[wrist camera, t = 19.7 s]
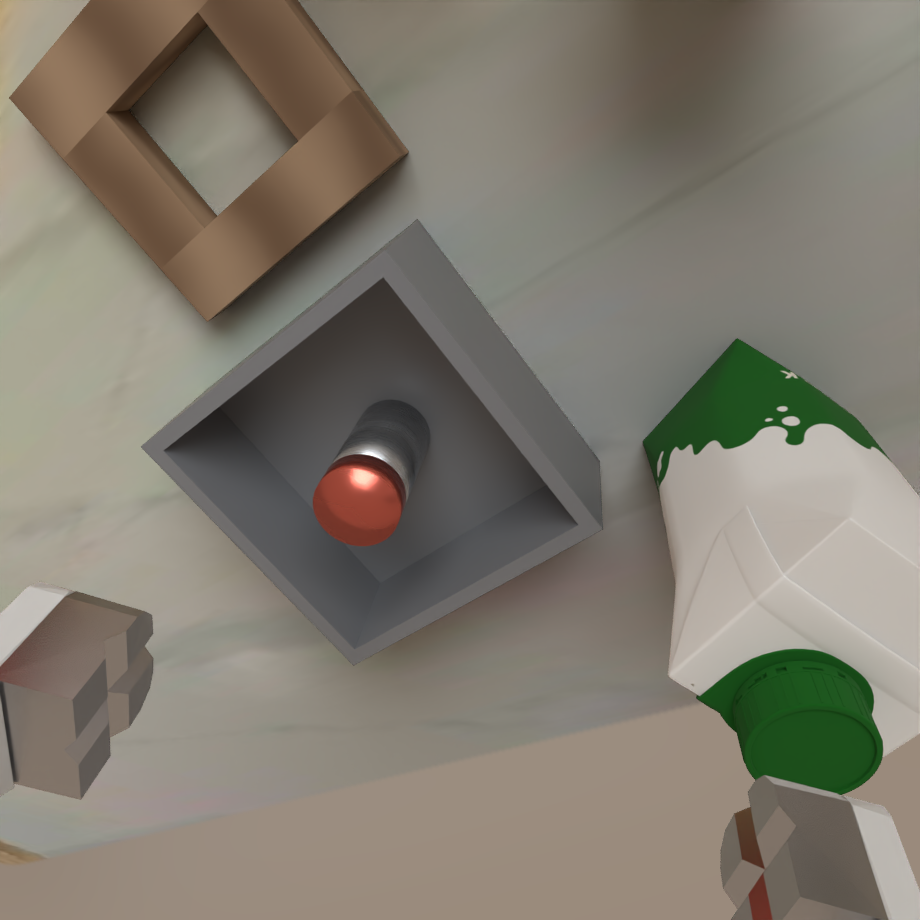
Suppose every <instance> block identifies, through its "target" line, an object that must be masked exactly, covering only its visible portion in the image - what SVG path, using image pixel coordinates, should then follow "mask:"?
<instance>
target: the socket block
mask: <svg viewBox="0 0 920 920" xmlns="http://www.w3.org/2000/svg"><path fill="white" fill-rule="evenodd" d="M207 25H208V26H209V27H210V28H211V30H212V31H213V32H214V34H215V35H216V36H217V37H218V39H219V40H220V41H221V43H222V44H223V45H224V46H225V48H226V49H227V50H228V52H229V53H230V54H231V55H232V57H233V58H234V59H235V61H236V62H237V63H238V64H239V66H240V67H241V68H242V70H243V71H244V72H245V73H246V75H247V76H248V77H249V79H250V80H251V81H252V82H253V84H254V85H255V86H256V88H257V89H258V90H259V91H260V93H261V94H262V95H263V97H264V98H265V99H266V100H267V102H268V103H269V104H270V106H271V107H272V108H273V109H274V111H275V112H276V113H277V115H278V116H279V117H280V118H281V120H282V121H283V122H284V124H285V125H286V126H287V127H288V129H289V130H290V131H291V133H292V134H293V135H294V136H295V138H296V139H297V140H298V142H297V143H296V144H295V145H294V146H293V147H291V148H290V149H289V150H288V151H287V152H286V153H285V154H284V155H283V156H282V157H281V158H280V159H279V160H277V161H276V162H275V163H274V164H273V165H272V166H271V167H270V168H269V169H268V170H267V171H266V172H265V173H263V174H262V175H261V176H260V177H259V178H258V179H257V180H256V181H255V182H254V183H253V184H252V185H251V186H249V187H248V188H247V189H246V190H245V191H244V192H243V193H242V194H241V195H240V196H239V197H238V198H237V199H235V200H234V201H233V202H232V203H231V204H230V205H229V206H228V207H227V208H226V209H225V210H224V211H223V212H221V213H220V214H219V215H218V216H217V215H216V214H215V213H214V212H213V210H212V209H211V208H210V207H209V206H208V204H207V203H206V202H205V201H204V200H203V198H202V197H201V196H200V195H199V194H198V193H197V191H196V190H195V189H194V188H193V187H192V185H191V184H190V183H189V182H188V181H187V179H186V178H185V177H184V176H183V175H182V173H181V172H180V171H179V170H178V169H177V168H176V166H175V165H174V164H173V163H172V162H171V160H170V159H169V158H168V157H167V156H166V154H165V153H164V152H163V151H162V150H161V148H160V147H159V146H158V145H157V144H156V143H155V141H154V140H153V139H152V138H151V137H150V135H149V134H148V133H147V132H146V131H145V129H144V128H143V127H142V126H141V125H140V123H139V122H138V121H137V120H136V119H135V117H134V116H133V115H132V114H131V113H130V112H129V109H130V108H131V107H132V106H133V105H134V104H135V102H136V101H137V100H138V99H139V98H140V97H141V96H142V95H143V94H144V93H145V92H146V91H147V90H148V88H149V87H150V86H151V85H152V84H153V83H154V82H155V81H156V80H157V79H158V78H159V77H160V76H161V74H162V73H163V72H164V71H165V70H166V69H167V68H168V67H169V66H170V65H171V64H172V63H173V62H174V60H175V59H176V58H177V57H178V56H179V55H180V54H181V53H182V52H183V51H184V50H185V49H186V48H187V46H188V45H189V44H190V43H191V42H192V41H193V40H194V39H195V38H196V37H197V36H198V35H199V34H200V32H201V31H202V30H203V29H204V28H205V27H206V26H207ZM9 99H10V100H11V101H12V102H13V103H14V104H15V105H16V106H17V108H18V109H19V110H20V111H21V112H22V113H23V114H24V116H25V117H26V118H27V119H28V120H29V121H30V122H31V123H32V125H33V126H34V127H35V128H36V129H37V130H38V131H39V132H40V134H41V135H42V136H43V137H44V138H45V139H46V140H47V141H48V143H49V144H50V145H51V146H52V147H53V148H54V149H55V151H56V152H57V153H58V154H59V155H60V156H61V157H62V158H63V160H64V161H65V162H66V163H67V164H68V165H69V166H70V167H71V169H72V170H73V171H74V172H75V173H76V174H77V175H78V176H79V178H80V179H81V180H82V181H83V182H84V183H85V184H86V186H87V187H88V188H89V189H90V190H91V191H92V192H93V193H94V195H95V196H96V197H97V198H98V199H99V200H100V201H101V202H102V204H103V205H104V206H105V207H106V208H107V209H108V210H109V211H110V213H111V214H112V215H113V216H114V217H115V218H116V219H117V221H118V222H119V223H120V224H121V225H122V226H123V227H124V228H125V230H126V231H127V232H128V233H129V234H130V235H131V236H132V237H133V239H134V240H135V241H136V242H137V243H138V244H139V245H140V247H141V248H142V249H143V250H144V251H145V252H146V253H147V254H148V256H149V257H150V258H151V259H152V260H153V261H154V262H155V263H156V265H157V266H158V267H159V268H160V269H161V270H162V271H163V272H164V274H165V275H166V276H167V277H168V278H169V279H170V280H171V282H172V283H173V284H174V285H175V286H176V287H177V288H178V289H179V291H180V292H181V293H182V294H183V295H184V296H185V297H186V298H187V300H188V301H189V302H190V303H191V304H192V305H193V306H194V307H195V309H196V310H197V311H198V312H199V313H200V314H201V315H202V317H203V318H204V319H205V320H206V321H207V322H208V321H209V320H211V319H212V318H214V317H215V316H217V315H218V314H220V313H221V312H222V311H224V310H225V309H226V308H227V307H228V306H230V305H231V304H232V303H233V302H234V301H235V300H237V299H238V298H239V297H240V296H241V295H242V294H244V293H245V292H246V291H247V290H248V289H249V288H251V287H252V286H253V285H254V284H255V283H256V282H258V281H259V280H260V279H261V278H262V277H263V276H265V275H266V274H267V273H268V272H269V271H271V270H272V269H273V268H274V267H275V266H276V265H278V264H279V263H280V262H281V261H282V260H283V259H285V258H286V257H287V256H288V255H289V254H290V253H292V252H293V251H294V250H295V249H296V248H297V247H299V246H300V245H301V244H302V243H303V242H304V241H306V240H307V239H308V238H309V237H310V236H311V235H313V234H314V233H315V232H316V231H317V230H318V229H320V228H321V227H322V226H323V225H324V224H325V223H327V222H328V221H329V220H330V219H331V218H332V217H334V216H335V215H336V214H337V213H338V212H339V211H341V210H342V209H343V208H344V207H345V206H346V205H348V204H349V203H350V202H351V201H352V200H353V199H355V198H356V197H357V196H358V195H359V194H360V193H362V192H363V191H364V190H365V189H366V188H367V187H369V186H370V185H371V184H372V183H373V182H374V181H376V180H377V179H378V178H379V177H380V176H381V175H383V174H384V173H385V172H386V171H387V170H388V169H390V168H391V167H392V166H393V165H394V164H395V163H397V162H398V161H399V160H400V159H401V158H402V157H404V156H405V155H406V154H407V153H408V152H409V151H408V150H407V149H406V147H405V146H404V145H403V143H402V142H401V141H400V139H399V138H398V136H397V135H396V134H395V132H394V131H393V130H392V128H391V127H390V126H389V124H388V123H387V121H386V120H385V119H384V117H383V116H382V115H381V113H380V112H379V111H378V109H377V108H376V106H375V105H374V104H373V102H372V101H371V100H370V98H369V97H368V96H367V94H366V93H365V92H364V90H363V89H362V87H361V86H360V85H359V83H358V82H357V81H356V79H355V78H354V77H353V75H352V74H351V72H350V71H349V70H348V68H347V67H346V66H345V64H344V63H343V62H342V60H341V59H340V57H339V56H338V55H337V53H336V52H335V51H334V49H333V48H332V47H331V45H330V44H329V42H328V41H327V40H326V38H325V37H324V36H323V34H322V33H321V32H320V30H319V29H318V28H317V26H316V25H315V23H314V22H313V21H312V19H311V18H310V17H309V15H308V14H307V13H306V11H305V10H304V8H303V7H302V6H301V4H300V3H299V2H298V0H90V1H89V3H88V4H87V5H86V6H85V7H84V9H83V10H82V11H81V12H80V13H79V15H78V16H77V17H76V18H75V19H74V21H73V22H72V23H71V24H70V25H69V27H68V28H67V29H66V30H65V31H64V33H63V34H62V35H61V36H60V37H59V39H58V40H57V41H56V42H55V43H54V45H53V46H52V47H51V48H50V49H49V51H48V52H47V53H46V54H45V55H44V57H43V58H42V59H41V60H40V61H39V63H38V64H37V65H36V66H35V67H34V69H33V70H32V71H31V72H30V73H29V75H28V76H27V77H26V78H25V79H24V80H23V82H22V83H21V84H20V85H19V86H18V88H17V89H16V90H15V91H14V92H13V94H12V95H11V96H10V97H9Z"/></svg>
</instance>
